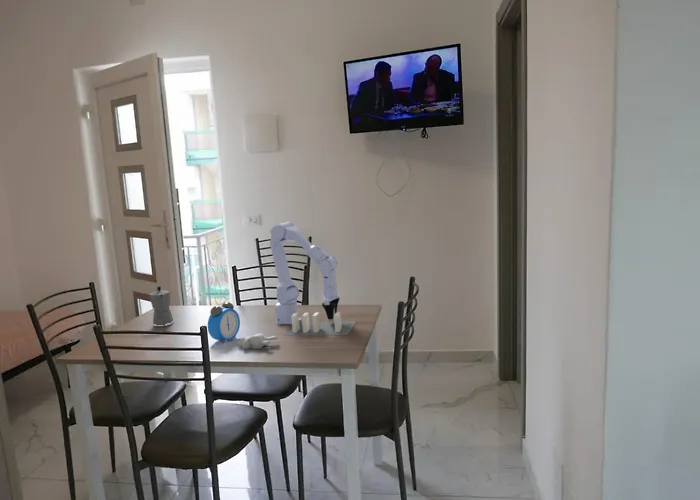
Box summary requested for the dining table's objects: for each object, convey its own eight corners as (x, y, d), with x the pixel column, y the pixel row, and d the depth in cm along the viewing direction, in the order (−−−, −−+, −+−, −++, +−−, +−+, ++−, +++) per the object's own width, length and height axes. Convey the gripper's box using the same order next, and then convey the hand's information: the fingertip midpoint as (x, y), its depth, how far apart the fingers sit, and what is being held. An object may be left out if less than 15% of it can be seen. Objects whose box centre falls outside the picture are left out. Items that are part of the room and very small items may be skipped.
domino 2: (303, 332, 224) (301, 316, 223) (306, 328, 229) (305, 312, 228) (306, 332, 224) (305, 315, 223) (310, 328, 229) (308, 312, 228)
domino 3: (313, 332, 223) (312, 315, 222) (316, 328, 228) (315, 312, 227) (317, 332, 223) (316, 315, 222) (320, 328, 228) (319, 312, 227)
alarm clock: (220, 345, 216) (216, 308, 214) (208, 344, 219) (204, 307, 217) (242, 335, 227) (238, 300, 225) (230, 334, 230) (226, 299, 228)
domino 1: (292, 332, 225) (291, 316, 224) (296, 328, 230) (294, 312, 229) (296, 332, 225) (294, 316, 224) (299, 328, 230) (298, 312, 228)
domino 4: (329, 323, 231) (328, 307, 230) (332, 320, 236) (330, 304, 235) (333, 323, 231) (331, 307, 229) (335, 320, 235) (334, 304, 234)
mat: (284, 336, 222) (284, 335, 222) (298, 322, 241) (298, 321, 240) (347, 335, 217) (347, 334, 217) (356, 321, 235) (356, 321, 235)
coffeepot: (176, 325, 250) (171, 287, 248) (154, 329, 246) (149, 290, 244) (171, 318, 264) (166, 281, 261) (150, 322, 260) (145, 285, 257)
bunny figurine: (245, 332, 218) (278, 330, 212) (247, 345, 218) (280, 342, 212) (232, 340, 209) (266, 337, 203) (235, 353, 209) (268, 350, 204)
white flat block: (335, 332, 221) (333, 315, 220) (337, 328, 226) (336, 312, 225) (339, 332, 221) (337, 315, 220) (341, 328, 226) (340, 312, 225)
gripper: (335, 289, 223) (337, 322, 225) (342, 281, 237) (344, 312, 239) (318, 290, 224) (320, 322, 226) (326, 282, 238) (329, 312, 240)
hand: (332, 317), depth 233 cm, fingers closed on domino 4, 5 cm apart
